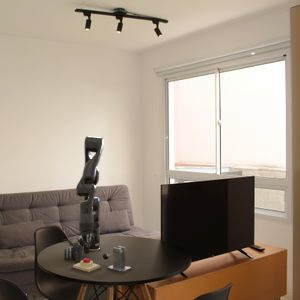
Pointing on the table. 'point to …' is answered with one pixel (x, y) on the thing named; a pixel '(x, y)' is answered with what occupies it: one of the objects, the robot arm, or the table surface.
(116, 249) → the base
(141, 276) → the table surface
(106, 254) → the lever handle
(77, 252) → the camera
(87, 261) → the button
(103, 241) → the table surface
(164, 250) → the table surface
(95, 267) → the button block
